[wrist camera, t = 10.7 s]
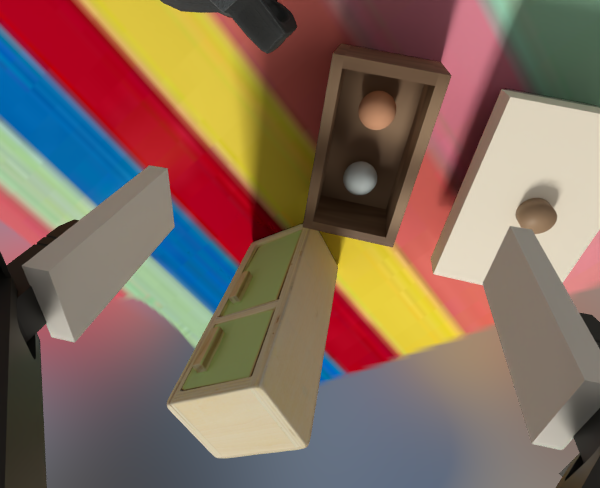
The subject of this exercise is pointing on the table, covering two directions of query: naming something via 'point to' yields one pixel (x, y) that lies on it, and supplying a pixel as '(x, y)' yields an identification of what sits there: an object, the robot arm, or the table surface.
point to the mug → (248, 18)
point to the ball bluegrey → (360, 178)
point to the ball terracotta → (377, 110)
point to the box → (372, 141)
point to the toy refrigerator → (262, 350)
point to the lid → (526, 186)
